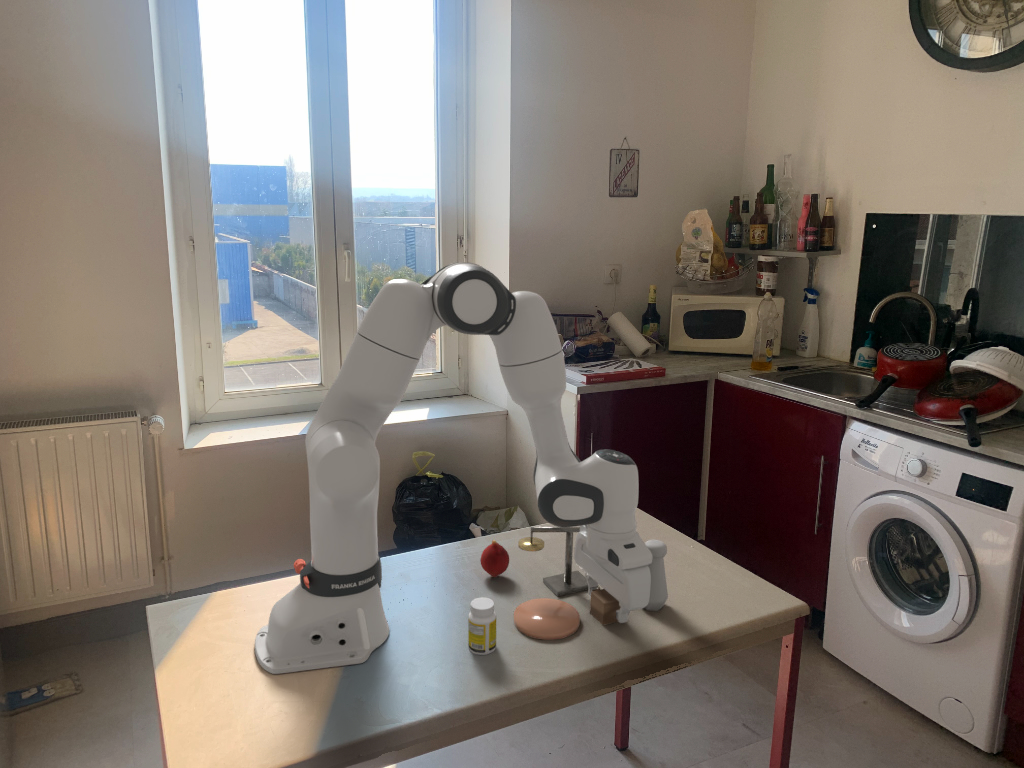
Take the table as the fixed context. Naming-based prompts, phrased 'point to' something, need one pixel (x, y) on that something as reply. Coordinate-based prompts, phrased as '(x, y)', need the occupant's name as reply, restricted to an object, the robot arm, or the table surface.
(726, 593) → the table surface
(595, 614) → the block
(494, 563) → the onion
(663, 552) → the salt shaker
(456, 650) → the table surface
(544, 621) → the dish
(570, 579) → the balance
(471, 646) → the supplement bottle
